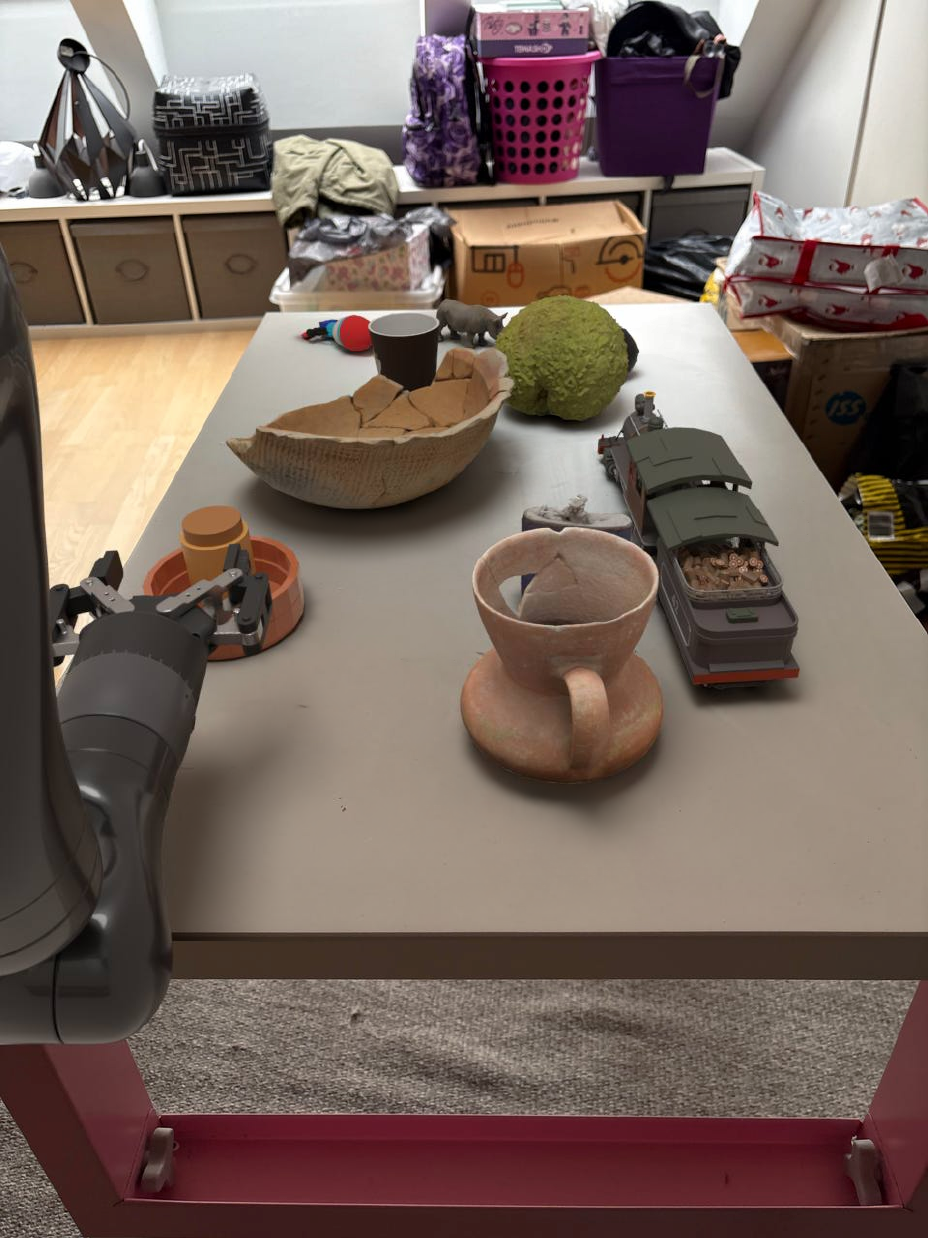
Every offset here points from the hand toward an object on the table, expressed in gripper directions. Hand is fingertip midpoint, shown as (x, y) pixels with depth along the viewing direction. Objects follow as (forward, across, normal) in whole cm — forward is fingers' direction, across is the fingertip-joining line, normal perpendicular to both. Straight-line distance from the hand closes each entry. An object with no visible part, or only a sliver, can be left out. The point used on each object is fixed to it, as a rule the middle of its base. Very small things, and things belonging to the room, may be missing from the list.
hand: (176, 557), depth 68 cm
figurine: (+67, -44, +13) cm, 81 cm away
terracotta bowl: (+11, 0, +13) cm, 17 cm away
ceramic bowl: (+34, -13, +13) cm, 39 cm away
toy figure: (+79, -8, +13) cm, 80 cm away
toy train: (+17, -41, +13) cm, 46 cm away
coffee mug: (+58, -18, +13) cm, 62 cm away
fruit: (+50, -35, +13) cm, 63 cm away
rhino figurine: (+75, -27, +13) cm, 81 cm away
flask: (+9, -30, +13) cm, 34 cm away
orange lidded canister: (+11, 0, +12) cm, 17 cm away
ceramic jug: (-8, -27, +13) cm, 31 cm away
